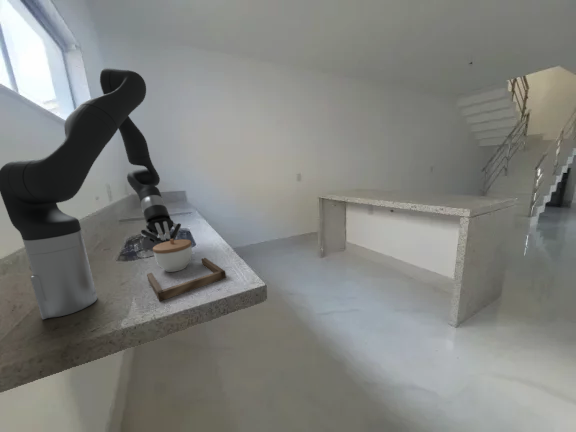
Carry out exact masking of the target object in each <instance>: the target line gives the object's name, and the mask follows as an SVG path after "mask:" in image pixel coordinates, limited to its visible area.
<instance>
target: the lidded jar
mask: <svg viewBox="0 0 576 432" xmlns="http://www.w3.org/2000/svg"><path fill="white" fill-rule="evenodd" d="M152 251H153V255H154V260H155V262H156V263H157V265H158V267H160V268H161V269H162V270H165V272H167V273H173V272H179V271H182V270H184V269H185V268H187V266H188V265H189V263H190V262H191V260H192V257H193V248H192V241H191V240H190V239H185V238H184V239H182V238H181V239H175V240H174V239H170V241H167V242H163V243H158V244H155V245H154V246H153V247H152Z"/></svg>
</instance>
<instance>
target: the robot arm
mask: <svg viewBox="0 0 576 432" xmlns="http://www.w3.org/2000/svg"><path fill="white" fill-rule="evenodd" d="M98 77H99V84H100V88H101V91H102V95H99V96H96V97H92V98H89V99H87V100H85V101H83V102H81V103H80V104H78V105H77V107H76V108H75V109H74V110H73V111H72V112H71V113H70V114H69V115H68V116H67V117H66V119H65V122H64V135H65V138H64V140H63V142H62V143H61V144H60V145H59V146H58V147H57V148H56V149H55V150H54V151H53V152H52V153H50V154H49V155H47V156H45V157H42V158H32V159H21V160H14V161H10V162H8V163H5V164H4V165H2V166H1V168H0V196H1V198H2V201H3V202H2V203H3V204H4V206H5V209H6V211H7V215H8V217H9V220H10V222H11V224H12V225H13V227H14V228H15V229H16V230H17V231H18V232H19V234H20V236H21V239H22V242H23V246H24V249H25V253H26V255H27V258H28V263H29V267H30V269H31V273H32V274H31V277H30V283H31V286H32V289H33V293H34V296H35V299H36V303H37V305H38V309H39V313H40V318H41V319H42V320H46V319H51V318H58V317H62V316H63V317H64V316H68V315H71V314H74V313H76V312H79V311H81V310H84V309H86V308H87V307H89V306H91V305H93V304H94V303H95V302H96V301H97V300H98V295H97V290H96V286H95V282H94V278H93V274H92V270H91V266H90V262H89V257H88V254H87V249H86V243H85V239H84V237H83V231H82V228H81V223H80V221H79V219H78V218H76V217H74V216H71V215H68V214H66V213H64V212H63V211H62V210H61V209H60V208H59V207H58V204H57V203H64V202H67V201H69V200H71V199H73V198H74V197H75V196H76V195H77V194H78V193H79V192H80V189H82V186H83V184H84V182H85V180H86V179H87V177H88V175H89V173H90V171H91V168H92V167H93V165H94V163H95V161H96V160H97V159H98V158H99V157H100V155H101V153H102V151H103V150H104V149H105V147H106V146H107V145H108V143H109V142H110V141H111V140H112V139H113V138H114V136H115V134H116V133H117V131H118V130H119V132H120V136H121V138H122V142H123V145H124V148H125V153H126V156H127V160H128V162H129V163H130V164H131V165H133V166H140V167H144V169H143V168H142V169H141V168H140V169H132V170H130V171H128V173H127V174H126V179H127V182H128V184H129V185H130V187H131V188H132V189H133V190H134V191H135V192H136V194H137V196H138V199H139V202H140V206H141V210H142V214H143V216H144V219H145V222H146V227H145V229H141V231H140V235H141V237H142V238H144V239H146V240H147V241H149V242H151V243H153V244H155V245H158V244H160V243H163V242H167V241H170V239H174V240H176V238H177V236H178V235H179V233H180V231H181V228H182V223H175V222H174V221H173V220H172V218H171V216H170V214H169V210H168V208H167V205H166V203H165V202H164V199H163V197H162V195H161V192H160V191H161V190H159V188H158V185H159V184H160V183H161V182H160V180H161V179H160V174H159V173H158V172H157V170H156V168H155V165H154V164H153V162H152V159H151V157H150V152H149V146H148V143H147V140H146V138H145V136H144V134H143V133H142V132H141V130H140V129H139V128H138V126H137V125H136V124H135V123H134V121H133V120H132V119H131V118H130V114H131V113H133V111H135V110H136V109H137V108H138V107H139V106H140V105H141V104H142V103H143V102H144V100H145V98H146V95H147V84H146V81H145V80H144V77H142V75H141V74H139V73H138V72H136V71H132V70H129V69H120V68H110V67H109V68H108V67H104V68H102V69H101V70H100V72H99V76H98ZM172 228H173V231H172ZM171 231H172V233H170V232H171Z"/></svg>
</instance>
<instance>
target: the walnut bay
mask: <svg viewBox="0 0 576 432" xmlns="http://www.w3.org/2000/svg"><path fill="white" fill-rule="evenodd" d="M201 265H202V266H204V268H206V269H207V270H209V271H210V272H211V273H210V274H206V275H203V276H201V277H198V278H197V277H196V278H195V279H191V280H188V281H185V282H183V283H178V284H175V285H173V286H169V287H166V288H164V289H163V288H162V286H161V285H160V283H159V282H158V280H157V279H156V277H155V275H154V274H153V272H148V273H146V277H147V281H148V283H149V285H150V287H151V288H152V290H153V292H154V294H155V297H156V298H157V299H158V301H159V302H162V301H164V300H168V299H169V298H170V299H171V298H173V297H175V296H176V297H177V296H179V295H181V294H184V293H187V292H191V291H192V290H196V289H199V288H201V287H204V286H207V285H210V284H213V283H215V282H219V281H222V280H224V279H227V275H226V274H227V272H226V270H224V269H223V268H221V267H220V266H218V265H217V264H215V263H214V262H213V261H211V260H209V259H208V258H206V257H202V258H201Z"/></svg>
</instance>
